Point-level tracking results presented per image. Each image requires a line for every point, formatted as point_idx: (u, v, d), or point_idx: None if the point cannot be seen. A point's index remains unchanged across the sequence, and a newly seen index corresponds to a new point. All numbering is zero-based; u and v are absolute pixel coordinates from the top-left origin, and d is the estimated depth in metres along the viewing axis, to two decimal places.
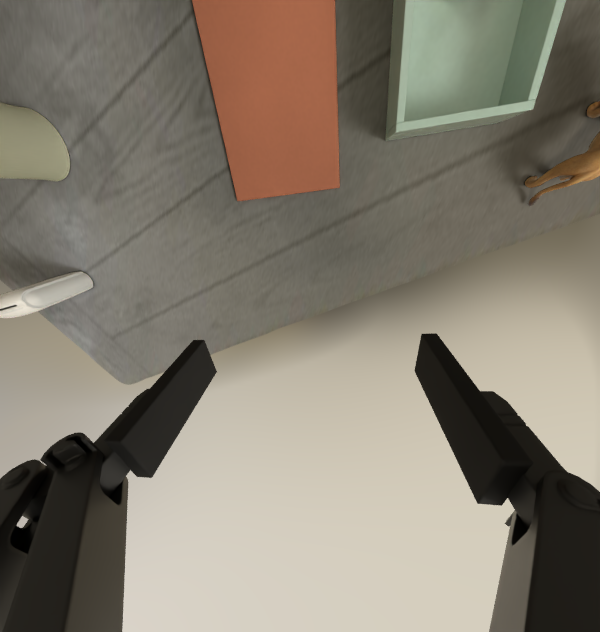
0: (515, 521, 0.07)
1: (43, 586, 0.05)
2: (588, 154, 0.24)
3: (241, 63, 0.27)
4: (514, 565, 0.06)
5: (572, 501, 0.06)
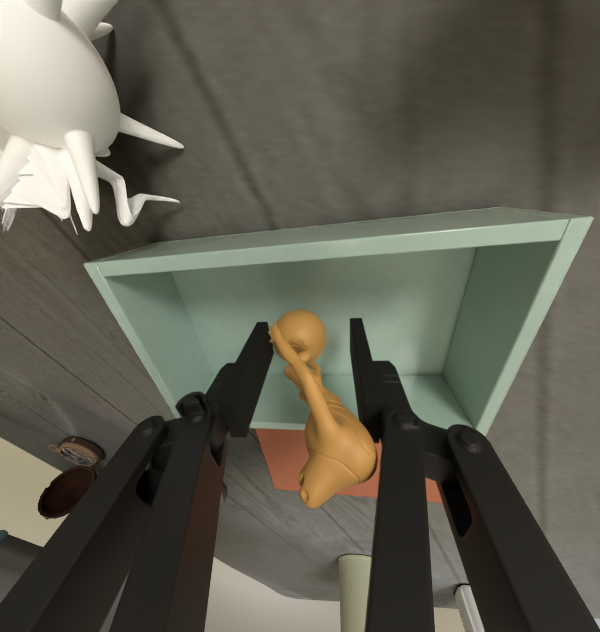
0: (381, 457, 0.09)
1: (164, 526, 0.06)
2: None
3: None
4: None
5: (400, 426, 0.08)
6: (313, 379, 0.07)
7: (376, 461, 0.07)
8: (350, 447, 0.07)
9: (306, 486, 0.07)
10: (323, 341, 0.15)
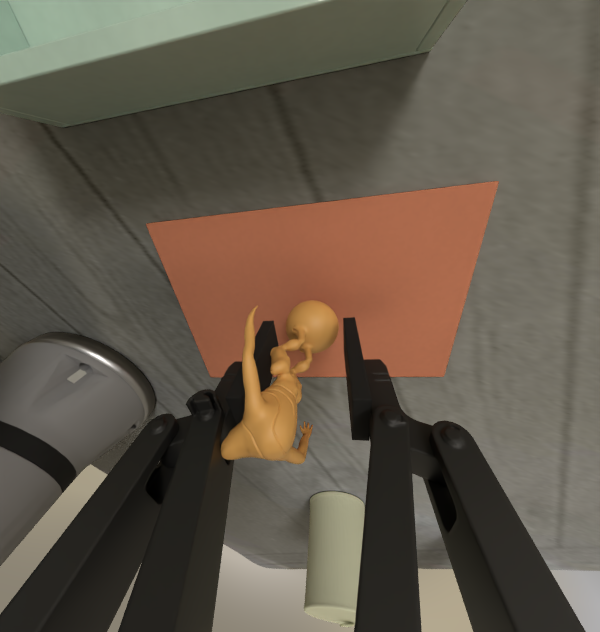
0: None
1: (175, 524, 0.06)
2: None
3: None
4: None
5: (388, 423, 0.08)
6: (250, 360, 0.08)
7: (283, 448, 0.08)
8: (261, 426, 0.08)
9: (225, 440, 0.09)
10: (328, 336, 0.15)
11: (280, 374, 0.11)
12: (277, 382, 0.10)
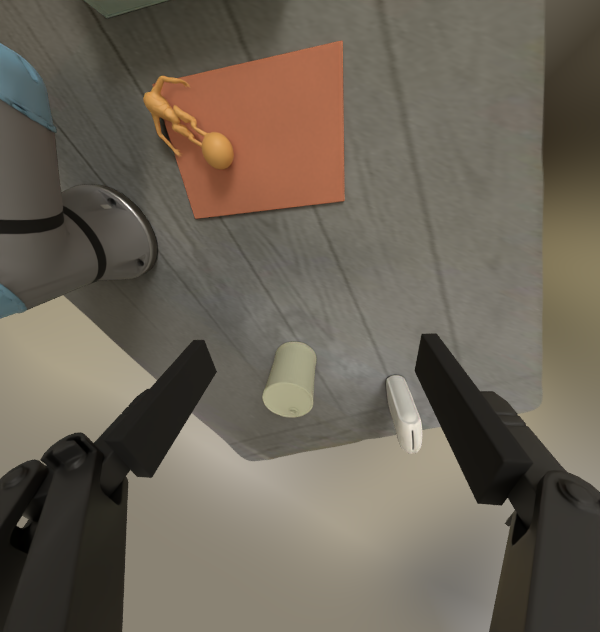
0: (515, 521, 0.07)
1: (43, 586, 0.05)
2: None
3: (242, 179, 0.32)
4: (514, 565, 0.06)
5: (572, 501, 0.06)
6: (159, 77, 0.25)
7: (144, 100, 0.27)
8: (148, 92, 0.27)
9: None
10: (202, 148, 0.28)
11: (174, 110, 0.28)
12: (170, 108, 0.28)
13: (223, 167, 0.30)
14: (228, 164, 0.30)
